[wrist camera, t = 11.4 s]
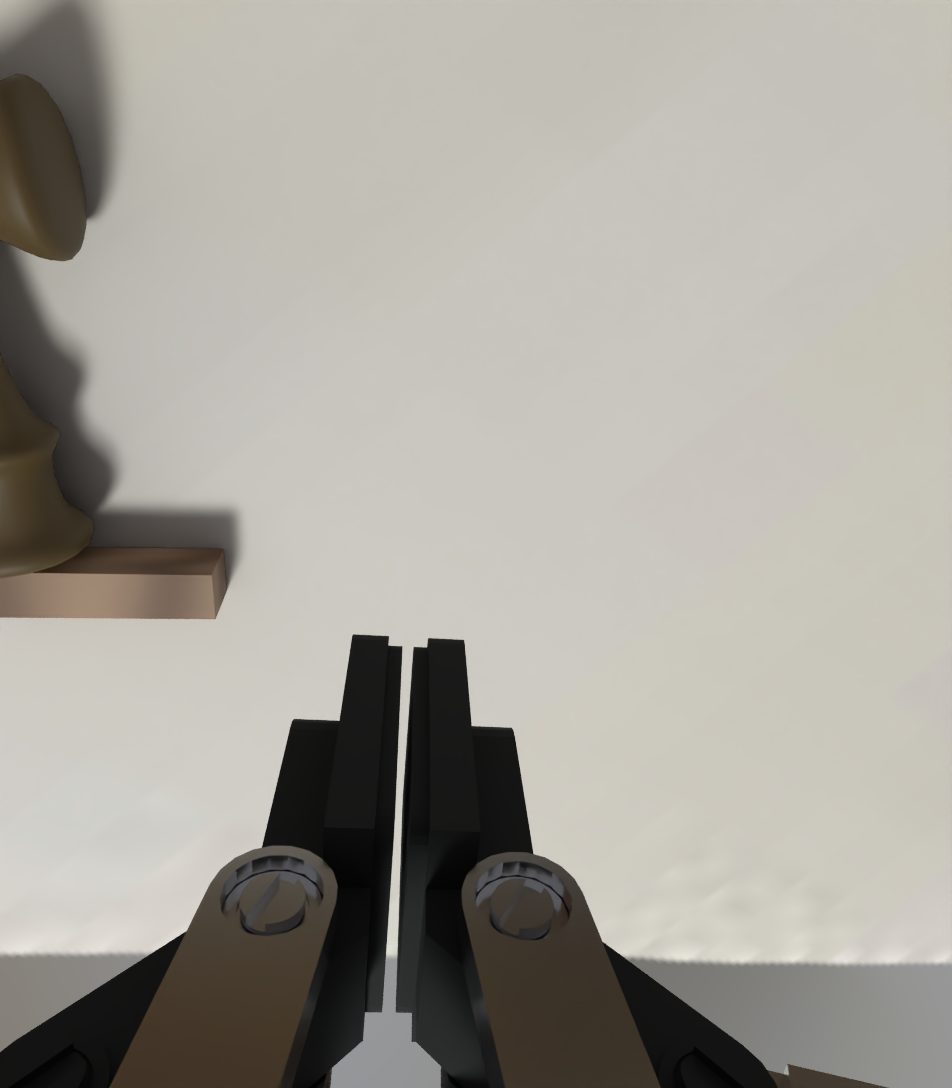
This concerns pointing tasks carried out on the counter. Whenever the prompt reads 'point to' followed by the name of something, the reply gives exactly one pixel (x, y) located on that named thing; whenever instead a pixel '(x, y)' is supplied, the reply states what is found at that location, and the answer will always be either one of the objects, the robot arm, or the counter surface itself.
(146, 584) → the walnut bay
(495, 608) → the counter surface
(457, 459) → the counter surface
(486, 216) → the counter surface
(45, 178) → the kendama
